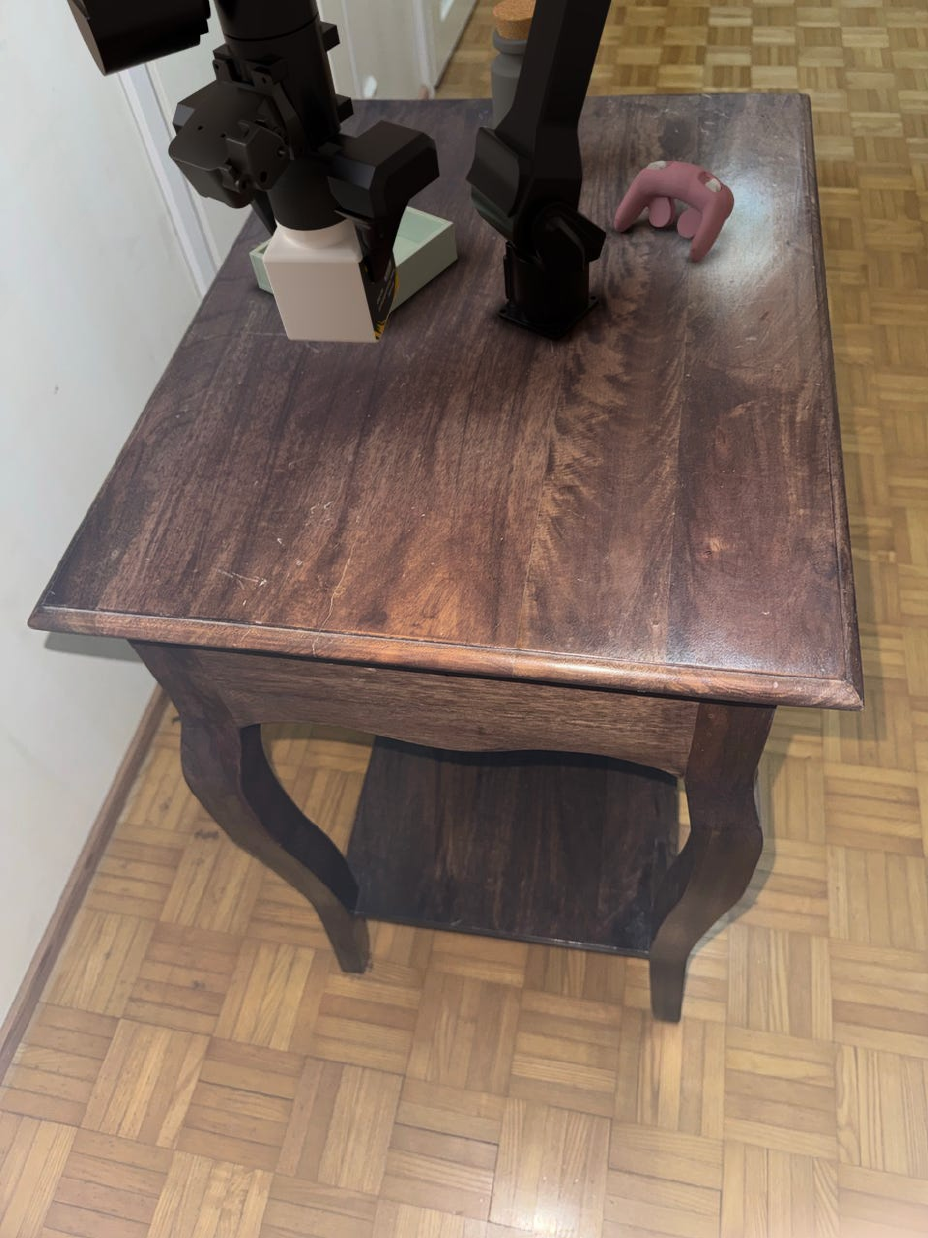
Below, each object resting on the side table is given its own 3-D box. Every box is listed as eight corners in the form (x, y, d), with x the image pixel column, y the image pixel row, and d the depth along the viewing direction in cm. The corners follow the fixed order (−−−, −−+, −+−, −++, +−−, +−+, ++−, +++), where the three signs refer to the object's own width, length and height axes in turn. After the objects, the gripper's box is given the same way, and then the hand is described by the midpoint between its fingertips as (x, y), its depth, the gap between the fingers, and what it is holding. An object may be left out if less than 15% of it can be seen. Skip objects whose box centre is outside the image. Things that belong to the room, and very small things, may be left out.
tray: (457, 258, 84) (453, 222, 81) (362, 334, 79) (354, 299, 76) (355, 219, 90) (347, 183, 87) (259, 287, 84) (248, 252, 82)
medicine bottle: (379, 345, 66) (343, 188, 56) (287, 342, 67) (236, 188, 58) (401, 284, 70) (370, 128, 60) (314, 283, 71) (270, 129, 62)
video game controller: (719, 263, 82) (749, 181, 79) (696, 265, 79) (726, 179, 75) (631, 229, 87) (656, 149, 83) (605, 229, 84) (630, 146, 80)
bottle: (567, 174, 91) (566, 5, 79) (520, 196, 89) (512, 27, 77) (532, 153, 94) (526, -13, 82) (486, 174, 92) (473, 8, 80)
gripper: (63, 47, 53) (162, 282, 66) (287, 116, 45) (351, 368, 58) (201, -27, 58) (269, 206, 70) (427, 24, 50) (458, 276, 62)
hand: (329, 260), depth 65 cm, fingers closed on medicine bottle, 9 cm apart
